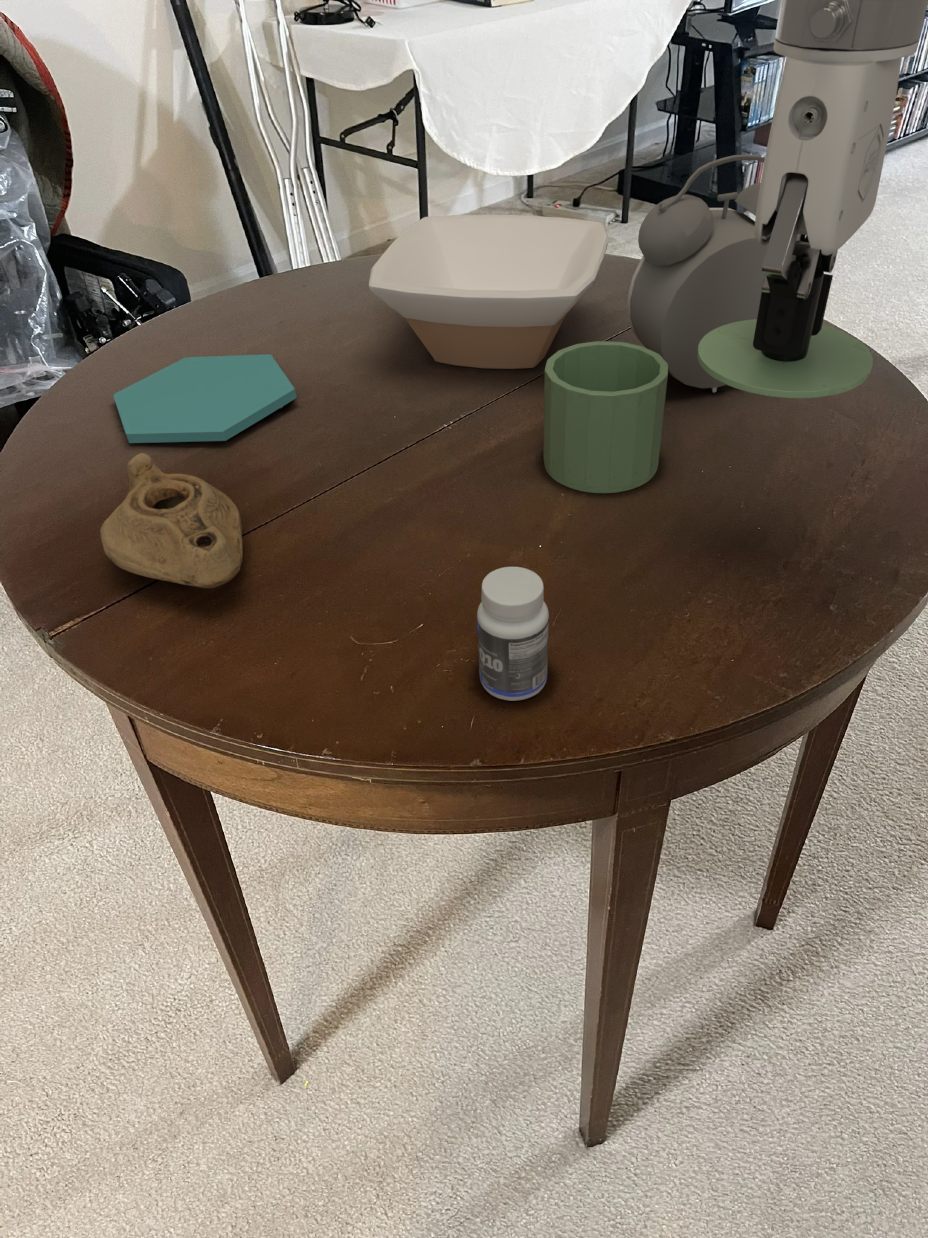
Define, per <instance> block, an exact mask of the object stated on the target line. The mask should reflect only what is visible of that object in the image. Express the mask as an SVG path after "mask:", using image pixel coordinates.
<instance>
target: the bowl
mask: <svg viewBox="0 0 928 1238" xmlns="http://www.w3.org/2000/svg"><path fill="white" fill-rule="evenodd" d="M609 240H610V236H609V234H608V231H607V230H606V227H605V225H604V223H603V222H601V221H597V220H596V221H594V220H588V219H587V220H586V219H578V218H569V217H558V216H557V217H556V216H539V215H525V214H523V215H522V214H453V215H452V214H451V215H432V216H424V217H422V218H420V219H418V221H416V222H414V223H413V224H410V225H409V226H408V227H406V228H404V230H402V232H401V233H400V234H399V235H398V236H397V237H396V238H395V240H394V241H393V242H392V243H391V244H390V245H389V246H388V248H386V250H385V251H384V253H382V255H381V256H380V257H379V259H378V260H377V261H376V262H375V263H374V265H373V266H372V268H371V269H370V274H369V281H368V288H369V291H370V292H371V293H372V294H374V295H375V296H376V297H377V298H379V299H380V300H381V301H382V302H384V303H385V304H386V305H387V306H389V307H390V308H391V309H392V310H393V311H395V312H396V313H397V314H398V315H400V316H401V317H402V318H404V319H405V320H406V322H407V323H408V325H409V326H410V328H411V329H412V330H413V332H414V333H415V335H416V336H417V337H418V339H419V340H420V341H421V343H422V344H423V346H424V347H425V348H426V350H427V351H428V353H429V354H430V355H431V357H432V358H433V360H434V361H435V362H436V363H440V364H441V363H442V364H445V365H452V366H458V367H467V368H476V369H493V370H495V369H496V370H498V369H500V370H518V369H519V370H521V369H533V368H535V367H537V365H539V364H540V363H541V361H543V360H544V359H545V357H546V356H547V353H548V351H549V349H550V347H551V345H552V344H553V341H554V340H555V338H556V335H557V334H558V332H559V329H560V328H561V326H562V324H563V321H564V319H565V318H566V316H567V315H568V313H569V312H570V311H571V309H573V307H575V305H576V304H577V303H578V302H579V301H580V300H581V299H582V297H583V296H584V295H585V294H586V293H587V292H588V291H589V290H590V289H591V288H592V287H593V286H594V285H595V282H596V279H597V277H598V275H599V272H600V270H601V267H602V265H603V262H604V258H605V254H606V252H607V249H608V245H609Z"/></svg>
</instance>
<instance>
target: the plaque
mask: <svg viewBox="0 0 928 1238" xmlns="http://www.w3.org/2000/svg"><path fill="white" fill-rule="evenodd" d="M112 396H113V399H114V402H115V405H116V408H117V411H118V414H119V417H120V420H121V423H122V424H121V425H122V427H123V430H124V433H125V436H126V439H127V441H128V443H129V444H146V443H147V444H150V443H155V444H156V443H187V442H188V443H189V442H190V443H192V442H227V441H228V440H229V439H231V438H233V437H234V436H237V435H238V434H240V433H241V432H243V431H245V430H246V429H248V428H249V427H251V426H253V425H255V424H256V423H258V422H259V421H261V420H263V419H264V418H266V417H268V416H269V415H271V414H273V413H274V412H276V411H277V410H279V409H283V407H284V406H286V405H288V404H289V403H291V402H292V401H294V400H296V399H297V397H298V396H297V392H296V388H295V387H294V385H293V384H292V382H291V380H290V379H289V378H288V376H287V375H286V373H284V371H283V370H282V368H281V367H280V366H279V364H278V363H277V361H276V359H275V357H273V355H272V354H270V353H267V354H266V353H265V354H241V355H239V354H238V355H237V354H236V355H213V356H186V357H183V358H181V359H179V360H177V361H175V362H174V363H172V364H169V365H168V366H166V367H164V368H162V369H160V370H158V371H155V372H154V373H152V374H150V375H148V376H146V377H144V378H142V379H140V380H139V381H136V382H134V383H133V384H131V385H129V386H127V387H124V388H123V389H120V390H119V391H117V392H114V393H113V394H112Z"/></svg>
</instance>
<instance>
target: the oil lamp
mask: <svg viewBox="0 0 928 1238" xmlns="http://www.w3.org/2000/svg"><path fill="white" fill-rule="evenodd" d="M126 471H127V475H128V479H129V480H128V481H129V485H128V487H129V489H128V491H129V492H128V493H127V494H126V497H125V498H124V499H123V501H122V502H121V503H120V504H119V505H118V506H117V507H116V508H115V509H114V510H113V511H112V512H111V514H110V515H109V516H108V517H107V518H106V520H104V522H103V523H102V525H101V527H100V531H99V533H100V539H101V545H102V548H103V552H104V554H105V555H106V556H107V558H108V559H109V560H111V561H112V563H114V565H116V566H117V567H118V568H120V569H122V570H124V571H127V572H129V573H132V574H134V575H138V576H142V577H145V578H150V579H154V580H158V581H164V582H170V583H174V584H178V585H184V586H189V587H195V588H200V589H215V588H218V587H221V586H223V585H225V584H227V583H229V582H231V580H233V579H234V578H235V577H236V576H237V575H238V573H239V572H240V570H241V566H242V563H243V554H244V553H243V551H244V548H243V545H244V543H243V542H244V541H243V525H242V517H241V514H240V511H239V509H238V507H237V505H236V504H235V503H234V501H232V499H231V498H230V497H229V496H228V495H226V494H225V493H224V492H222V491H221V490H219V489H217V488H216V487H215V486H213V485H212V484H210V483H208V482H206V481H205V480H203V478H199V477H198V476H195V475H191V474H185V473H184V474H183V473H165V472H163V471H162V470H161V469H160V468H159V467H158V466H157V464H156V462H154V461H153V459H152V458H151V456H150V455H149V454H147V453H144V452H140V453H138V454H137V455H135V456H133V457H132V458H131V459H130V460H129V461H128V462H127V465H126Z"/></svg>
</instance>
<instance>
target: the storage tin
mask: <svg viewBox="0 0 928 1238" xmlns="http://www.w3.org/2000/svg"><path fill="white" fill-rule="evenodd" d="M544 367H545V368H544V388H543V389H544V391H543V398H544V399H543V404H544V405H543V406H544V407H543V459H542V460H543V464H544V468H545V471H546V473H547V474H548V476H550V477H551V478H552V479H553V480H554V481H556V482H557V483H559V484H560V485H562V486H565V487H567V488H568V489H572V490H576V491H579V492H585V493H590V494H616V493H623V492H627V491H630V490H634V489H636V488H639V487H641V486H643V485H645V484H646V483H648V482H649V481H650V480H652V479H653V477H654V476H655V475H656V473H657V471H658V468H659V462H660V461H659V460H660V452H661V443H662V433H663V425H664V414H665V406H666V396H667V387H668V376H669V372H668V364H667V362H666V361H665V360H664V359H663V358H662V357H661V356H660V354H658V353H655V352H653V351H651V350H649V349H647V348H645V347H644V346H643V345H638V344H634V343H629V342H624V341H605V340H597V341H589V342H583V343H576V344H573V345H570V346H567V347H564V348H562V349H559V350H557V351H556V352H555V353H553V354H552V355H551V356H550V357H549V358H548V359H546V363H545V366H544Z"/></svg>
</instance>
